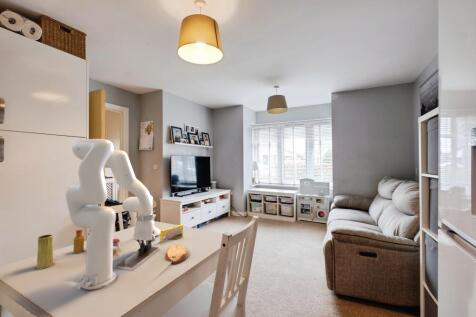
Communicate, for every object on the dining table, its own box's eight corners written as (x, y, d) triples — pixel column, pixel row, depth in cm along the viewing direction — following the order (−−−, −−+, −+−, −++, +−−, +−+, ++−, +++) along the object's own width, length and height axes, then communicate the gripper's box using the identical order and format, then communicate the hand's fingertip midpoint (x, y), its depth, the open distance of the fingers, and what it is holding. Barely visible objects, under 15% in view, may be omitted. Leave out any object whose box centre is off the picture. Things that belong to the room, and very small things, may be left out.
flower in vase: (164, 234, 151) (164, 198, 151) (150, 239, 141) (150, 200, 141) (152, 231, 158) (152, 196, 158) (137, 235, 148) (138, 198, 148)
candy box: (161, 244, 133) (161, 230, 134) (159, 243, 135) (159, 230, 135) (183, 237, 146) (183, 224, 146) (181, 236, 148) (181, 224, 148)
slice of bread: (176, 246, 131) (176, 239, 131) (199, 252, 122) (199, 246, 122) (150, 257, 116) (150, 250, 116) (174, 265, 107) (174, 258, 107)
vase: (33, 269, 102) (33, 239, 102) (41, 263, 108) (41, 234, 108) (48, 268, 103) (49, 237, 103) (55, 262, 109) (56, 233, 109)
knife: (126, 265, 104) (127, 259, 104) (123, 265, 104) (123, 259, 104) (151, 248, 124) (151, 243, 124) (148, 248, 125) (148, 242, 125)
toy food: (70, 253, 120) (71, 231, 120) (92, 244, 132) (92, 224, 132) (108, 260, 112) (109, 236, 112) (128, 250, 124) (128, 229, 124)
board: (132, 270, 102) (132, 267, 102) (115, 268, 104) (115, 265, 104) (159, 249, 126) (159, 247, 126) (144, 248, 127) (144, 246, 127)
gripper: (127, 218, 117) (127, 253, 117) (154, 220, 115) (154, 255, 115) (136, 215, 125) (135, 247, 125) (162, 216, 122) (161, 250, 122)
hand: (144, 251), depth 120 cm, fingers closed on knife, 2 cm apart
